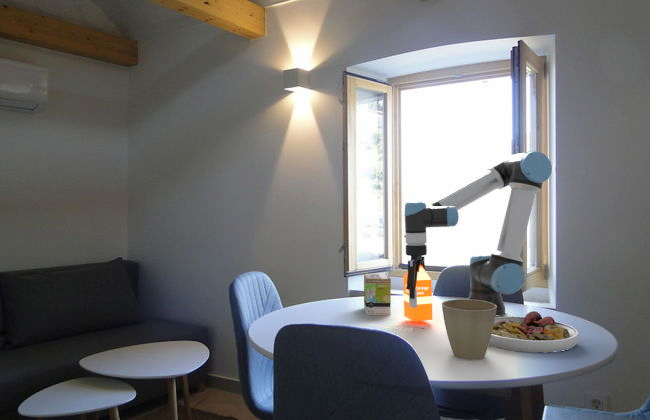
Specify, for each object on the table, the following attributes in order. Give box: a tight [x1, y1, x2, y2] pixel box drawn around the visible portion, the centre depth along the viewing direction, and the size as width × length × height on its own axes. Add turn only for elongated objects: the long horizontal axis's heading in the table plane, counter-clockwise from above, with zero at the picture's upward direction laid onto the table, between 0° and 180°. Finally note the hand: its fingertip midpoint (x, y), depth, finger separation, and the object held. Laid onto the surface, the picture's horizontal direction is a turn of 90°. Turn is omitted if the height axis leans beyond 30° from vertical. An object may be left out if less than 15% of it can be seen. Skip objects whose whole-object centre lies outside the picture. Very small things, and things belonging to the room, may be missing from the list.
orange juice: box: [402, 265, 434, 322], centre depth 188 cm, size 8×9×20 cm
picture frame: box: [367, 323, 425, 332], centre depth 175 cm, size 24×18×1 cm
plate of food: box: [489, 311, 580, 353], centre depth 161 cm, size 30×30×8 cm
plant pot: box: [441, 298, 497, 361], centre depth 144 cm, size 15×15×16 cm
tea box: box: [363, 273, 392, 316], centre depth 208 cm, size 15×10×15 cm
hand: (417, 304), depth 188 cm, fingers closed on orange juice, 11 cm apart
